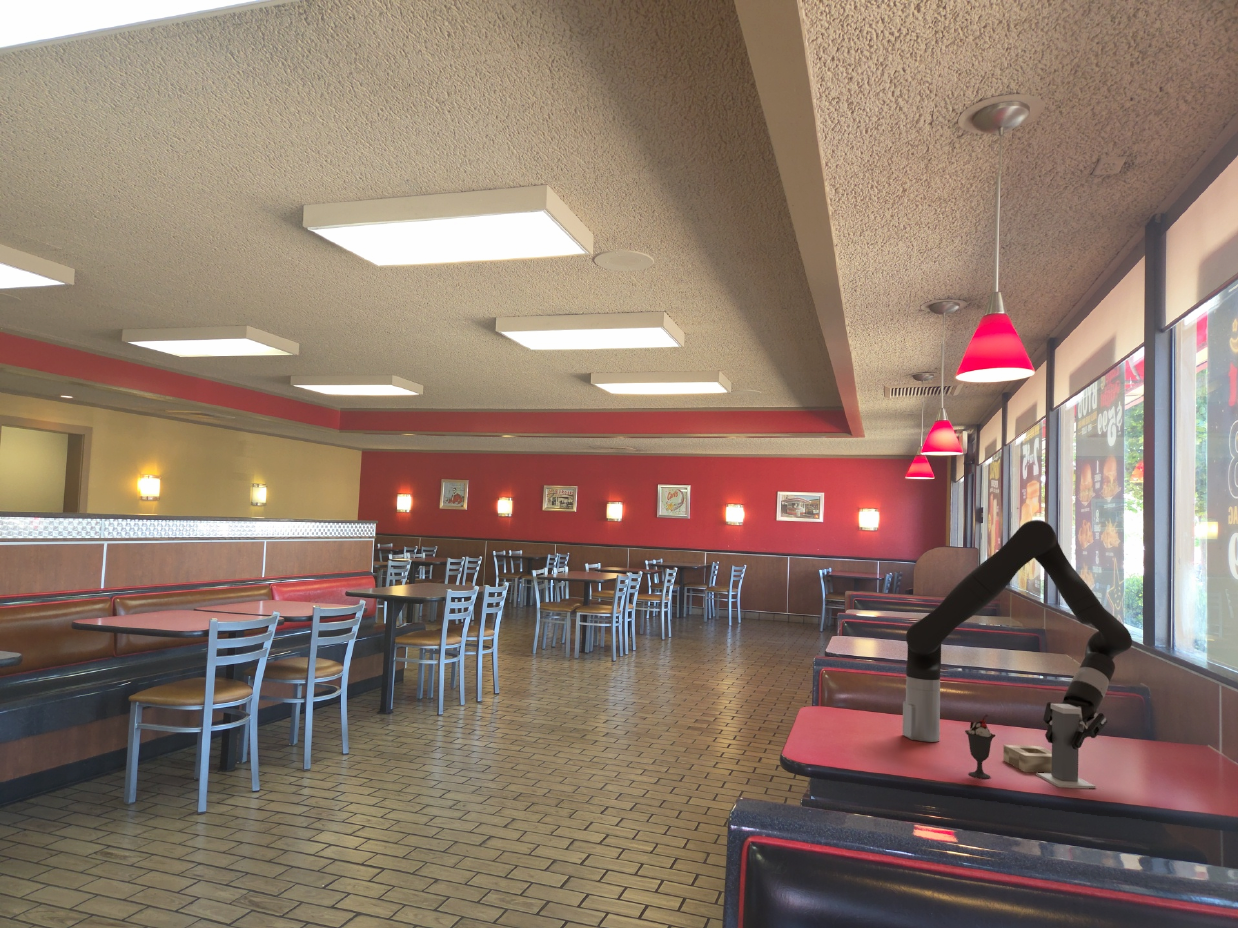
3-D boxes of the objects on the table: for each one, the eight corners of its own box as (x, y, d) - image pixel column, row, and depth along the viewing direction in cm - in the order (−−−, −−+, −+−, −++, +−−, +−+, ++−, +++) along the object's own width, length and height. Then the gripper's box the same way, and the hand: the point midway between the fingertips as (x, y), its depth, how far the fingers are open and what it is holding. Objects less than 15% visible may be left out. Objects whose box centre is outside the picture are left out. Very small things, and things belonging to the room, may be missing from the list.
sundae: (993, 781, 183) (993, 717, 184) (962, 776, 186) (963, 712, 188) (996, 775, 188) (996, 712, 190) (966, 769, 192) (967, 708, 193)
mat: (1058, 787, 181) (1058, 784, 181) (1036, 775, 190) (1036, 772, 190) (1095, 788, 181) (1095, 785, 182) (1072, 776, 190) (1072, 774, 190)
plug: (1062, 781, 184) (1063, 708, 185) (1049, 774, 188) (1050, 703, 189) (1080, 781, 184) (1081, 708, 185) (1067, 775, 189) (1068, 703, 190)
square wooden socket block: (1024, 771, 193) (1024, 755, 193) (1003, 760, 203) (1003, 744, 203) (1063, 773, 193) (1063, 756, 193) (1040, 761, 203) (1040, 746, 203)
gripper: (1052, 674, 198) (1025, 726, 191) (1112, 685, 186) (1086, 741, 178) (1063, 694, 200) (1037, 746, 193) (1123, 706, 188) (1098, 762, 181)
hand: (1061, 743), depth 186 cm, fingers closed on plug, 5 cm apart
